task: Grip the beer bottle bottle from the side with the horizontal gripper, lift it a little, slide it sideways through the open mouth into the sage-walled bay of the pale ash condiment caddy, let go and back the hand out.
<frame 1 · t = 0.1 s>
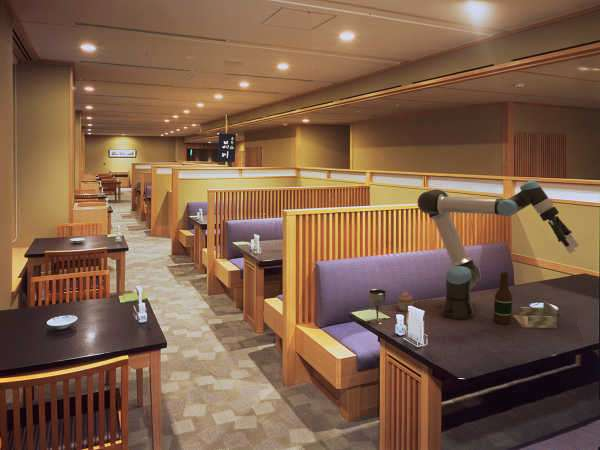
hand: (574, 249, 214), 36 cm above the table, tool tilted 35°, fingers open, 13 cm apart
wine glass: (377, 321, 230), on the table
beer bottle: (502, 322, 225), on the table
cupcake: (405, 310, 246), on the table
caddy: (535, 322, 223), on the table
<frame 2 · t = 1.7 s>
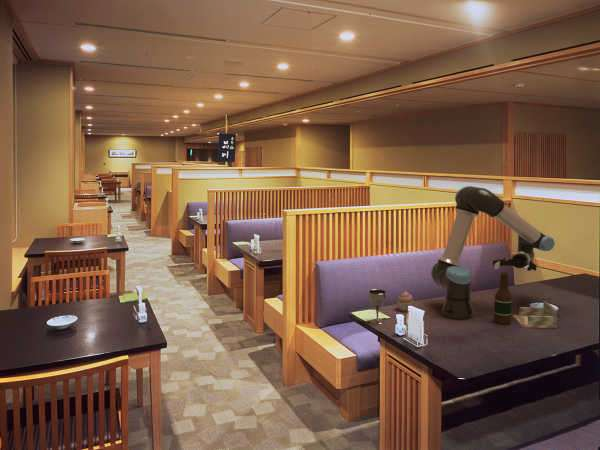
hand: (509, 268, 229), 24 cm above the table, tool horizontal, fingers open, 13 cm apart
nothing on the table moved.
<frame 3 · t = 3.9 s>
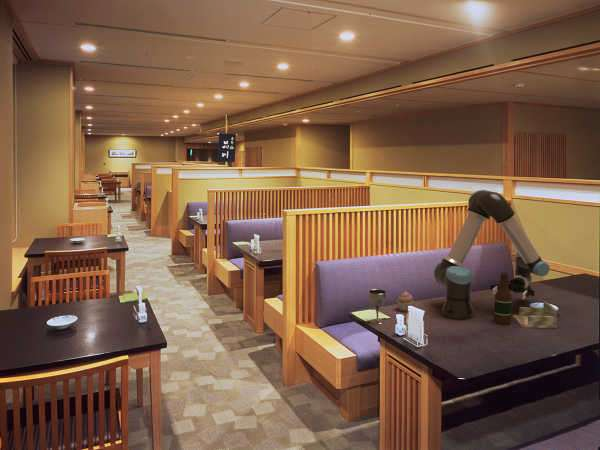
hand: (507, 294, 226), 12 cm above the table, tool horizontal, fingers open, 13 cm apart
nothing on the table moved.
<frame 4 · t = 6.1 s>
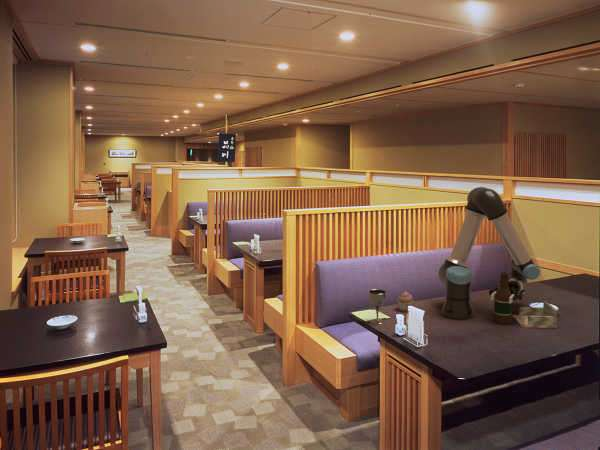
hand: (500, 299, 219), 13 cm above the table, tool horizontal, fingers closed on beer bottle, 7 cm apart
beer bottle: (502, 322, 225), on the table, touching gripper
everything else where it was.
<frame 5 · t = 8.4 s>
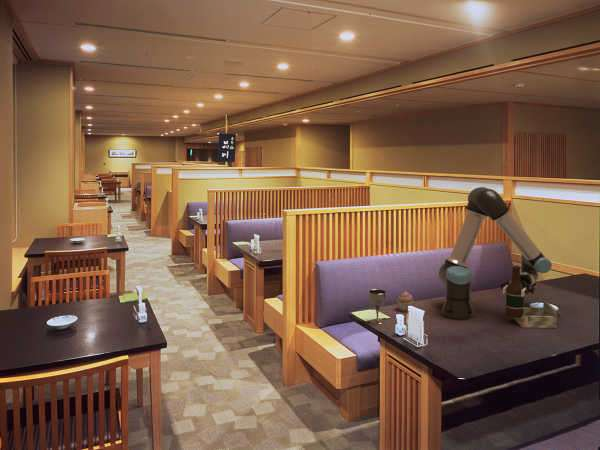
hand: (512, 292, 218), 16 cm above the table, tool horizontal, fingers closed on beer bottle, 7 cm apart
beer bottle: (514, 315, 224), point 3 cm above the table, touching gripper
everything else where it was.
when the fingers open (15 cm above the table, at t = 10.9 s): beer bottle drops 2 cm, resting on caddy.
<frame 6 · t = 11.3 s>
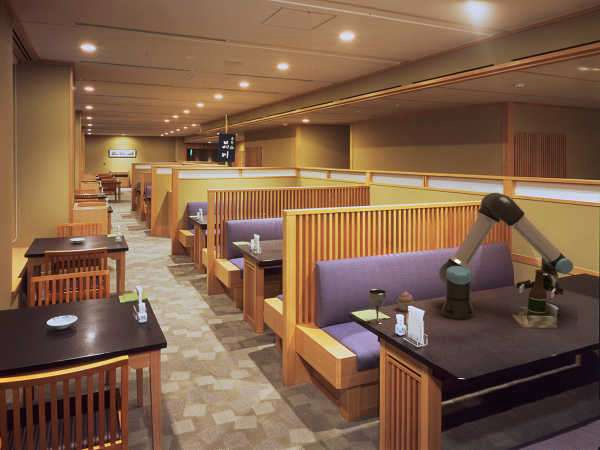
hand: (535, 292, 218), 15 cm above the table, tool horizontal, fingers open, 13 cm apart
beer bottle: (535, 320, 223), point 1 cm above the table, touching caddy
everything else where it was.
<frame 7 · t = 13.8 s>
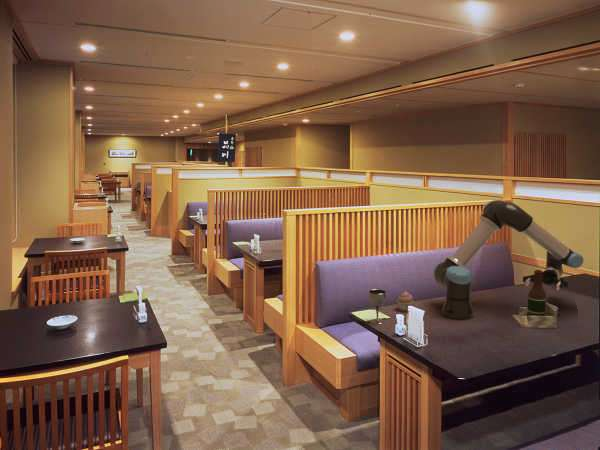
hand: (541, 285, 228), 16 cm above the table, tool horizontal, fingers open, 13 cm apart
nothing on the table moved.
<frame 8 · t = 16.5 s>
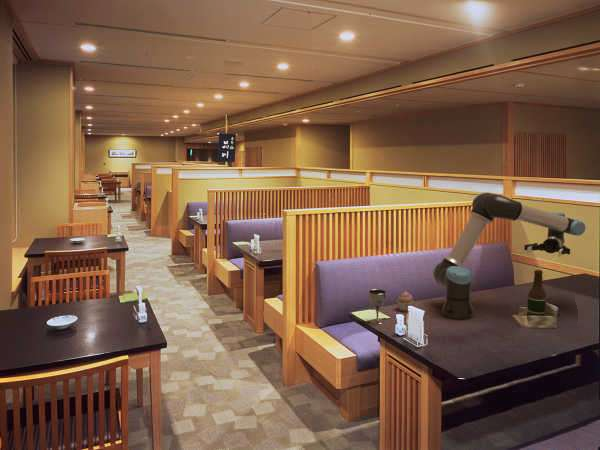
hand: (543, 252, 226), 32 cm above the table, tool horizontal, fingers open, 13 cm apart
nothing on the table moved.
at the end: beer bottle 0.0 cm off-centre on the caddy, point 1.0 cm above the caddy's base; beer bottle tilted 0°; the gripper is holding nothing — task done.
